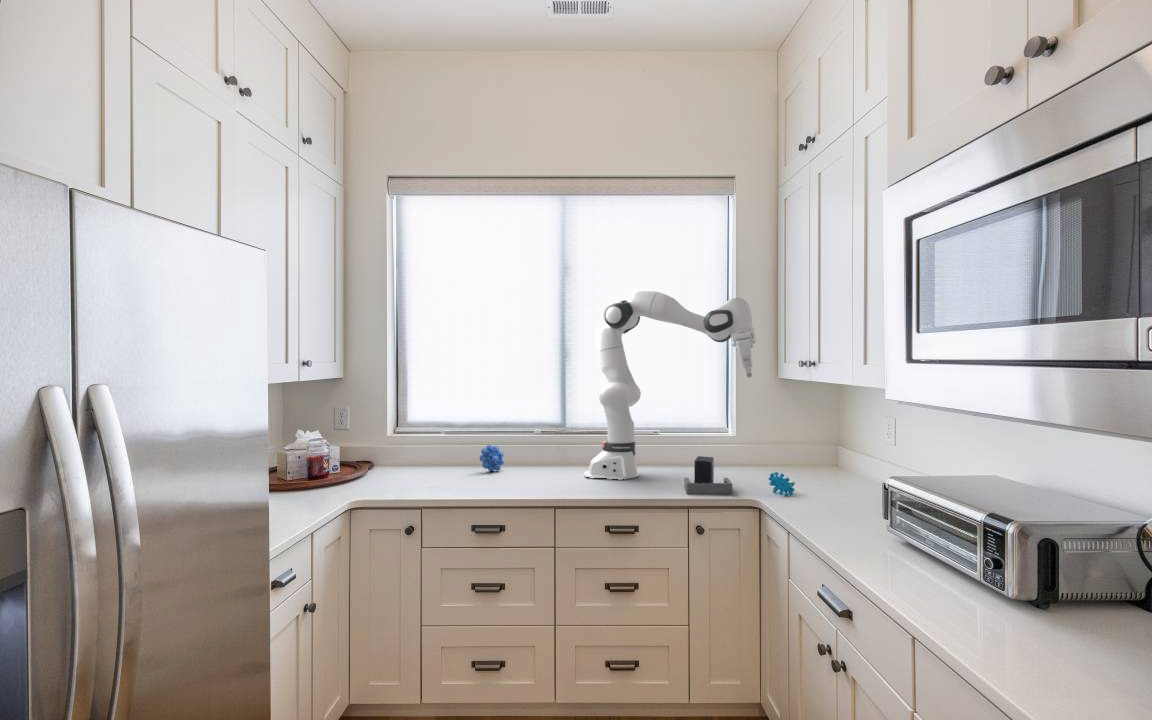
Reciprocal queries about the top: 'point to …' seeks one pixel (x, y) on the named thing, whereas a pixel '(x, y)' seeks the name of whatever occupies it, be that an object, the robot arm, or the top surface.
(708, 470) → the small box
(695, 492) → the centring channel
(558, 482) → the top surface
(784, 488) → the blue virus model
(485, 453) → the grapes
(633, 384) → the robot arm
